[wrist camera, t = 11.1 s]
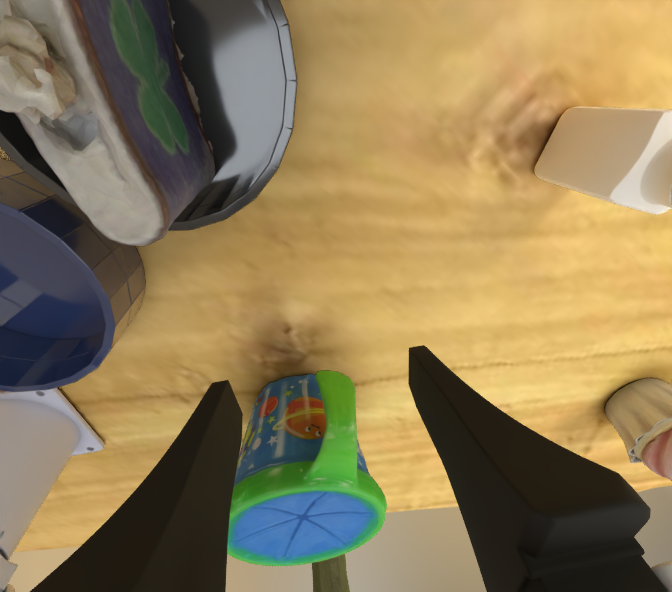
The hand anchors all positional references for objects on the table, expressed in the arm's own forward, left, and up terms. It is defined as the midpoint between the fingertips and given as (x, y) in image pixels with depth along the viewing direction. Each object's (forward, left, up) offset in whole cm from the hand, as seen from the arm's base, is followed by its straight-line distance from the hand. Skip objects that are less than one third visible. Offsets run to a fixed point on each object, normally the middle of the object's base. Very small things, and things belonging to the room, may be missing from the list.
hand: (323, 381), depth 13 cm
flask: (-5, +11, -10) cm, 16 cm away
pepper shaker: (+17, +5, -11) cm, 21 cm away
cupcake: (+32, -22, -11) cm, 40 cm away
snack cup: (-3, -13, -11) cm, 17 cm away
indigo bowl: (-16, +3, -10) cm, 19 cm away
